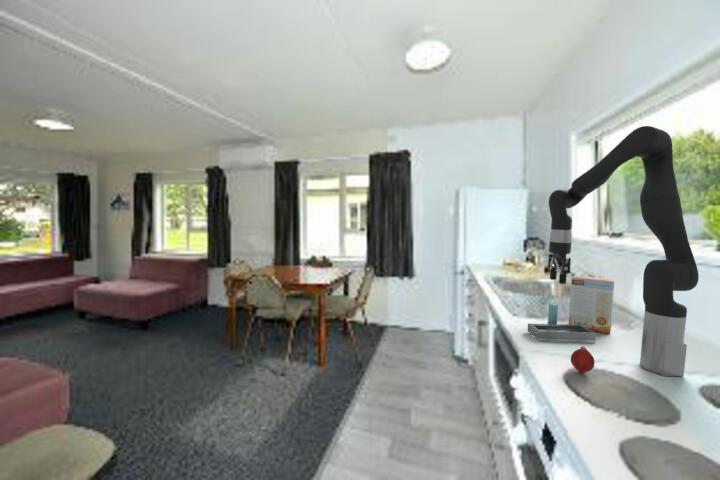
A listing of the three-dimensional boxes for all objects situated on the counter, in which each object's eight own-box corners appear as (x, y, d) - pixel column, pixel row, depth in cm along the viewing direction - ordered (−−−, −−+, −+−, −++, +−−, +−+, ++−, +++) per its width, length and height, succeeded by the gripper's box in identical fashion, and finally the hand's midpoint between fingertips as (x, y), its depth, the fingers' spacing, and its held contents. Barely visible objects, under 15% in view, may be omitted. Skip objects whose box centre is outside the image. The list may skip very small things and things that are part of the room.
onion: (571, 366, 103) (573, 340, 102) (594, 372, 99) (596, 346, 98) (568, 373, 98) (570, 346, 98) (592, 379, 95) (594, 352, 94)
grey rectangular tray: (595, 343, 122) (595, 333, 122) (538, 341, 123) (539, 331, 122) (579, 334, 131) (580, 324, 131) (527, 332, 132) (527, 323, 131)
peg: (563, 331, 133) (565, 306, 132) (548, 331, 133) (549, 306, 133) (555, 326, 139) (557, 302, 138) (540, 326, 139) (542, 302, 139)
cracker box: (610, 330, 136) (615, 279, 134) (610, 334, 131) (614, 281, 129) (569, 323, 145) (573, 274, 143) (568, 326, 140) (571, 276, 138)
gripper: (579, 243, 127) (576, 285, 128) (562, 240, 141) (559, 278, 142) (558, 242, 128) (555, 284, 129) (543, 239, 142) (540, 277, 143)
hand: (557, 281), depth 136 cm, fingers open, 8 cm apart
